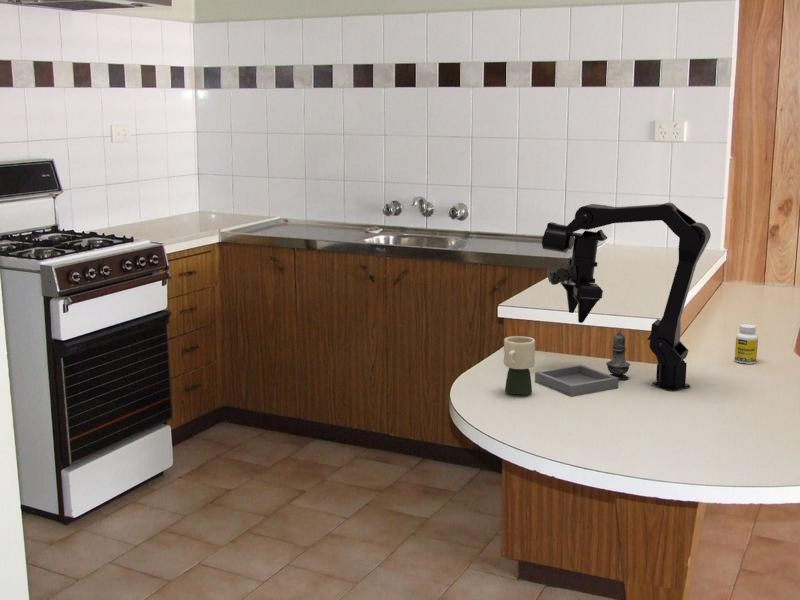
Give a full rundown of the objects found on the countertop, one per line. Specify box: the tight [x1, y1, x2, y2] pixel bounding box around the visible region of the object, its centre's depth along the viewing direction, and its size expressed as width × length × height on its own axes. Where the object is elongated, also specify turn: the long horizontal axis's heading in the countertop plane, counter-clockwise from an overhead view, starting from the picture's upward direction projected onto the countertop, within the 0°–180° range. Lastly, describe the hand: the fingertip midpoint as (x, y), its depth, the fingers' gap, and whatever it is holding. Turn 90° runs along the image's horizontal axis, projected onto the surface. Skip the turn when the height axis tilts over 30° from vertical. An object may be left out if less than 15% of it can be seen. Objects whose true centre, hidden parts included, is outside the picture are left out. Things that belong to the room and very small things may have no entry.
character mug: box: [503, 335, 536, 396], centre depth 216 cm, size 11×7×13 cm, turn 149°
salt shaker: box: [605, 330, 631, 382], centre depth 229 cm, size 6×6×12 cm
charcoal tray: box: [534, 364, 619, 398], centre depth 224 cm, size 14×14×2 cm
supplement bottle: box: [734, 323, 759, 365], centre depth 243 cm, size 5×5×10 cm
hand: (575, 317), depth 231 cm, fingers open, 9 cm apart
